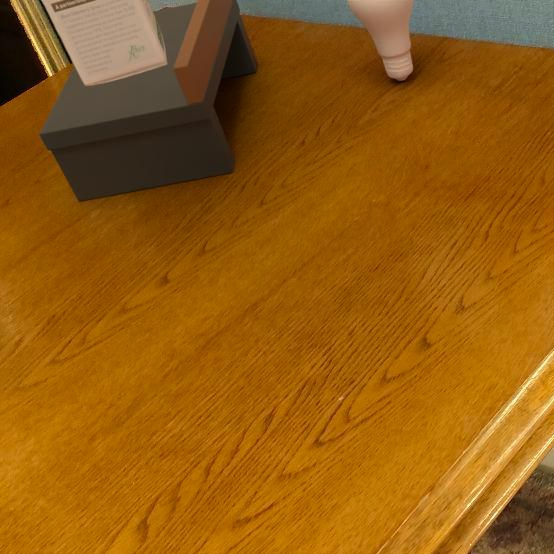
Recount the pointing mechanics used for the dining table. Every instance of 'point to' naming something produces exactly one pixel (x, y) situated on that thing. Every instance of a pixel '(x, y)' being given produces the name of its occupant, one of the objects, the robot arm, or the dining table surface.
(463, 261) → the dining table surface
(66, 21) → the syrup box
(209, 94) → the grey lidded gift box
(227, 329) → the dining table surface
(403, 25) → the lightbulb
